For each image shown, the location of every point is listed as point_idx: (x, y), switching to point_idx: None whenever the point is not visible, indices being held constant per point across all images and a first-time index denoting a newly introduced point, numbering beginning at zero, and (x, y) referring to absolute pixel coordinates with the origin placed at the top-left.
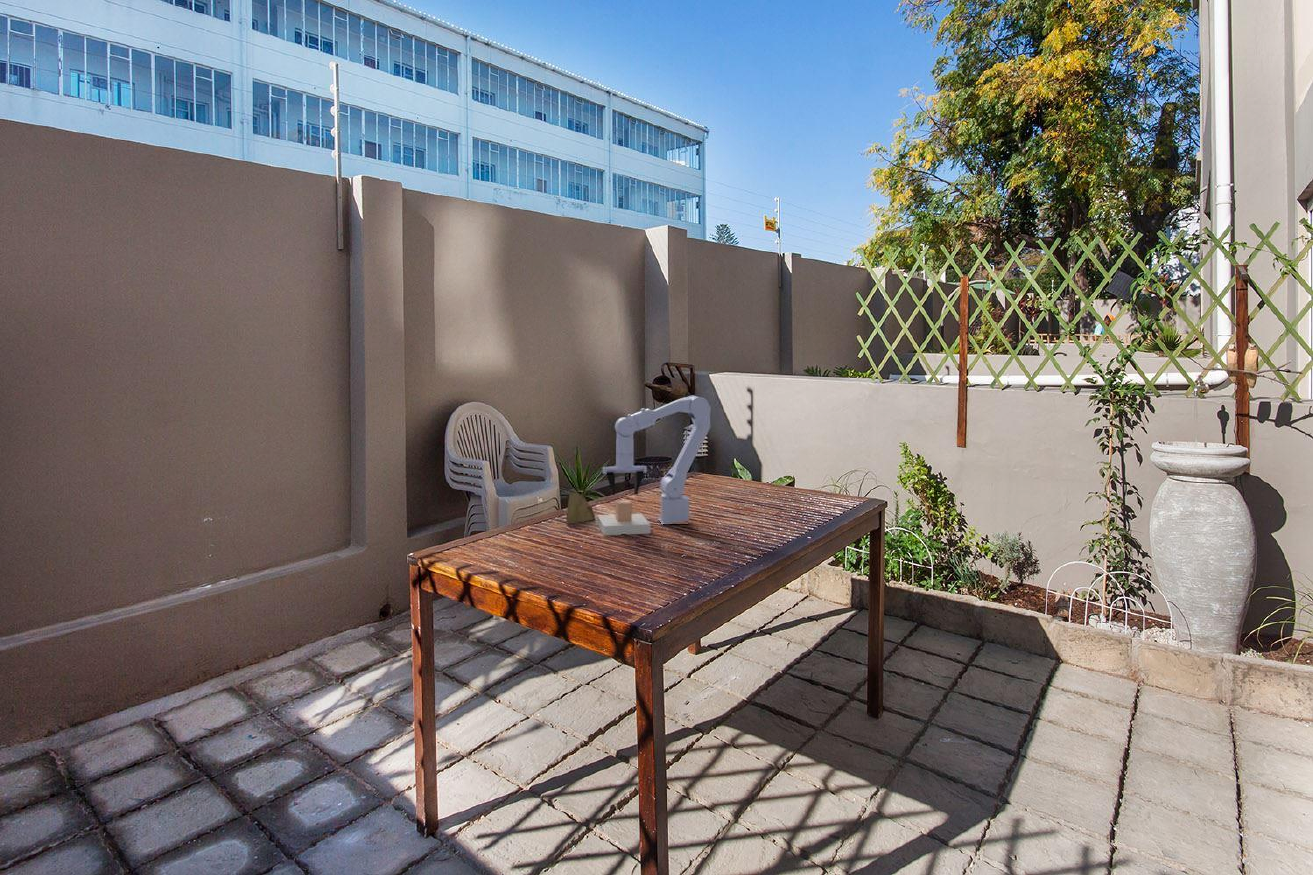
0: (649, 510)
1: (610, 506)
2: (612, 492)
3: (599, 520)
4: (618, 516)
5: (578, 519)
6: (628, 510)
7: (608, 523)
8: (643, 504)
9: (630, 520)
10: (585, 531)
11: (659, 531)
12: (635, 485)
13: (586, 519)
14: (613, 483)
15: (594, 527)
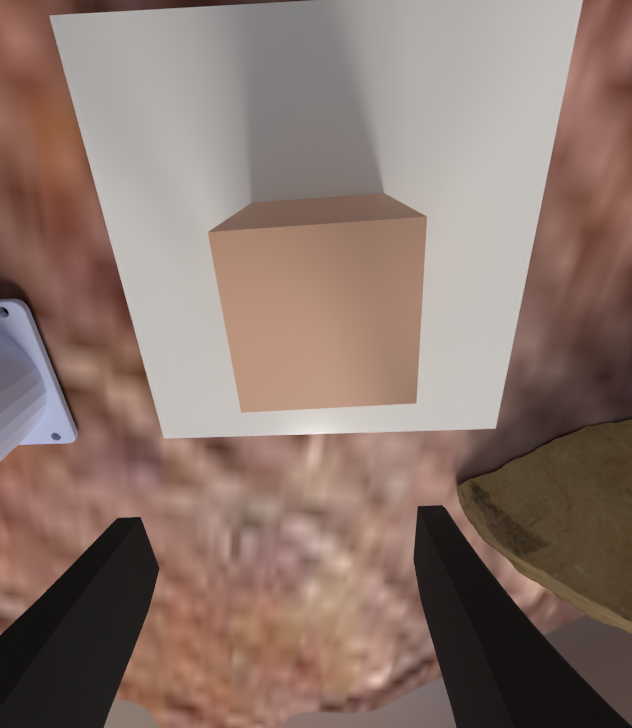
0: None
1: (326, 664)
2: (459, 539)
3: (511, 316)
4: (386, 198)
5: (591, 444)
6: (270, 212)
7: (493, 125)
8: (174, 676)
9: (260, 202)
10: (628, 200)
11: (26, 118)
12: (90, 663)
13: (523, 465)
14: (524, 681)
15: (519, 311)
